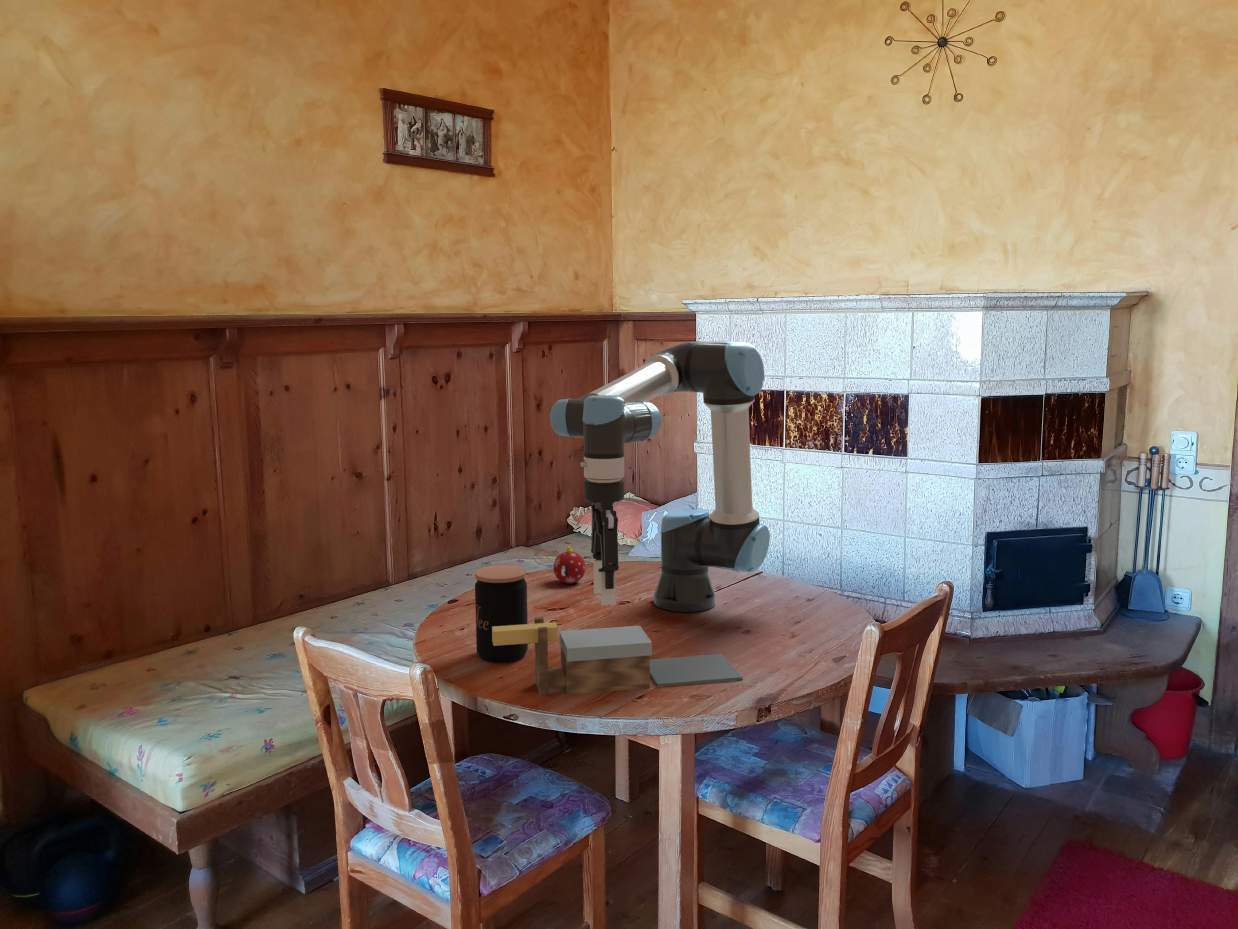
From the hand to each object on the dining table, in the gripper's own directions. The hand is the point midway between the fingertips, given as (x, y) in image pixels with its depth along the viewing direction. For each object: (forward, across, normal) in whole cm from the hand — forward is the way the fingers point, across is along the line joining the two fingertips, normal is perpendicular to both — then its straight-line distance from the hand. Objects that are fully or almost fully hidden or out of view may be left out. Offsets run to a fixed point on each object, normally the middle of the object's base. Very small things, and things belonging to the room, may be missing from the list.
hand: (604, 598), depth 176 cm
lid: (+10, 0, 0) cm, 10 cm away
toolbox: (+17, 0, -2) cm, 17 cm away
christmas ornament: (+17, -71, +4) cm, 73 cm away
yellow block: (+7, 0, -15) cm, 17 cm away
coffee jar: (+17, -20, -18) cm, 32 cm away
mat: (+17, -3, +18) cm, 25 cm away
